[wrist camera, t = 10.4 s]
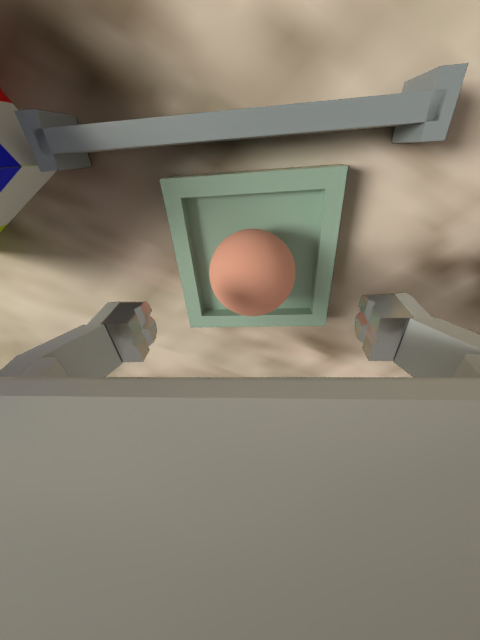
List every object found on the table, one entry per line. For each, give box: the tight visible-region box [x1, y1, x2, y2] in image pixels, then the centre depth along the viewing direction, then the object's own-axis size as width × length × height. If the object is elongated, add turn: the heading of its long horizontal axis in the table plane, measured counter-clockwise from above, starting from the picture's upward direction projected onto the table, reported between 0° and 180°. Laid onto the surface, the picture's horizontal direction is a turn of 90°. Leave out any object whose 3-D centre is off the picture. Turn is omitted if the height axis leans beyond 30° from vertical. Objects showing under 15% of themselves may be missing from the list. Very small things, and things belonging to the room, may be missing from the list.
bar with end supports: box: [14, 63, 468, 172], centre depth 13 cm, size 2×19×3 cm, turn 94°
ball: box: [209, 229, 295, 316], centre depth 15 cm, size 5×5×5 cm
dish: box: [159, 164, 348, 327], centre depth 17 cm, size 10×10×2 cm
